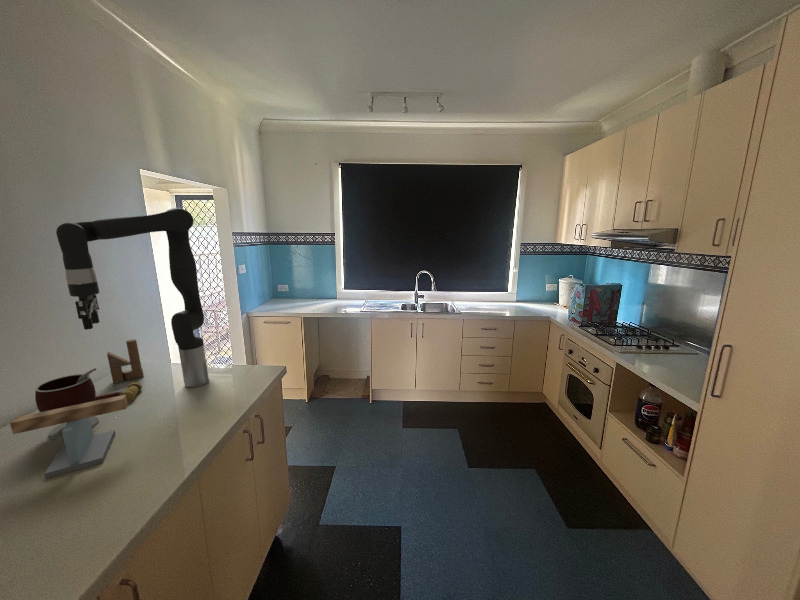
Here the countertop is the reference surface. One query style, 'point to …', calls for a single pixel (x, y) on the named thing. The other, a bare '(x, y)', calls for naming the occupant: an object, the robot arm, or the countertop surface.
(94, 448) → the stand
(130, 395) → the gavel
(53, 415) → the light wood bar
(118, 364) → the wooden block
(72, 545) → the countertop surface
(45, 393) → the mate gourd
